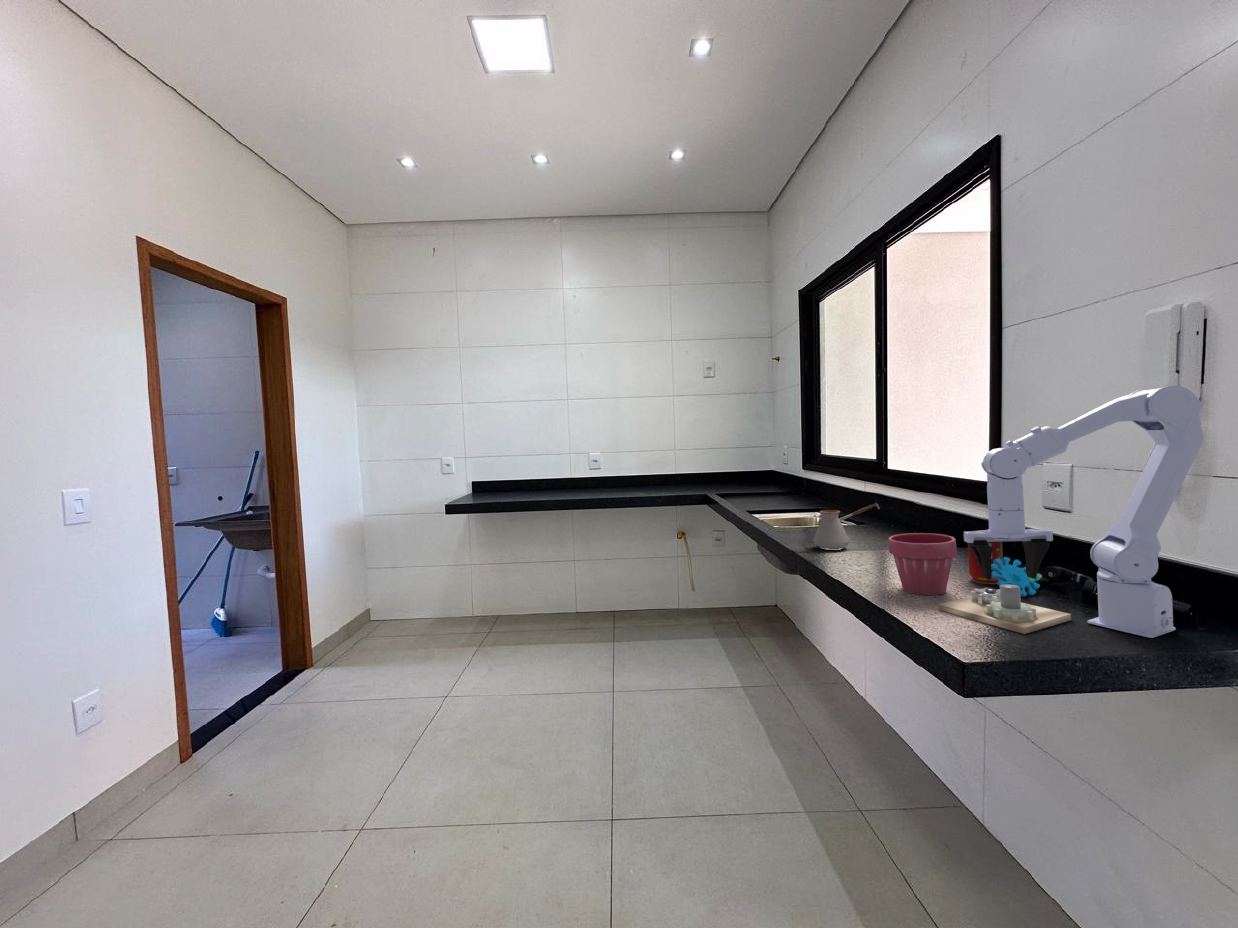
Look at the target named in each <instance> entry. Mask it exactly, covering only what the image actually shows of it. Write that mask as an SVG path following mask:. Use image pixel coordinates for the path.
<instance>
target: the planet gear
mask: <svg viewBox="0 0 1238 928" xmlns="http://www.w3.org/2000/svg"><path fill="white" fill-rule="evenodd" d="M999 589H1000V601H1001V602H994V601H992V602H990V605H987V613H991V614H993V615H994V617H997V618H1007V619H1012V620H1014V621H1018V620H1024V619H1027V620H1034V619H1033V616H1034V617H1036V608H1034V607H1029V606H1027V604H1028V603H1026V604H1024V603H1025V602H1021V599H1022V598H1021V596H1020V591H1021V590H1020V587H1019V586H1016V585H1008V584H1004V585H1000V587H999Z"/></svg>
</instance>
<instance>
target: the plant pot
mask: <svg viewBox="0 0 1238 928" xmlns="http://www.w3.org/2000/svg"><path fill="white" fill-rule="evenodd" d="M956 541H957V539H956V538H955V537H954V536H950V535H947V534H942V533H941V534H940V533H931V532H930V533H929V532H928V533H925V532H919V533H917V532H913V533H912V532H911V533H900V534H894V535H891V536H889V537H888V552H889V553H890V554H891V555H892V556H893V559H894V562H895V563H894V564H895V566H896V570H897V573H898V577H899V579H900V580H899V581H900V583H901V587H902V590H903V591H905V592H908V593H910V594H915V595H923V596H934V595H935V596H936V595H942V594H945V593H946V592H947V587H948V583H949V578H950V573H951V568H952V562H953V557H955V556H956V555H957V553H958V552H957V551H958V550H957V542H956Z"/></svg>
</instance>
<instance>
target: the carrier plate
mask: <svg viewBox="0 0 1238 928" xmlns="http://www.w3.org/2000/svg"><path fill="white" fill-rule="evenodd" d="M1023 603H1024V604H1027V606H1029V607H1034V608H1036V617H1034V616H1033V619H1034V620H1027V619H1024V620H1018V621H1014V620H1012V619H1007V618H997V617H994V615H993V614H991V613H987V605H986V604H983V605H981V604H978V602H976V601H972V597H971V595H970V596H966V597H962V598H958V599H954V600H950V601H947V602H941V603H938V610H939V611H942V612H945V613H949V614H952V615H956V616H960V617H963V618H967V619H971V620H973V621H977V622H980V623H984V624H988V625H991V626H994V627H995V626H996V627H998V628H1002V629H1005V630H1009V631H1013V632H1016V633H1020V634H1024V635H1025V634H1029V633H1033V632H1035V631H1039V630H1042V629H1043V630H1044V629H1046V628H1049V627H1053V626H1057V625H1060V624H1063V623H1066V622H1070V621H1072V613H1067V612H1065V611H1059V610H1056V609H1051V608H1047V607H1043V606H1039V605H1033V604H1029V603H1025V602H1023Z"/></svg>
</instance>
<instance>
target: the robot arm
mask: <svg viewBox="0 0 1238 928" xmlns="http://www.w3.org/2000/svg"><path fill="white" fill-rule="evenodd" d="M1203 407H1204V404H1203V403H1202V401H1200V400H1199V398H1198V397H1197V396H1196V395H1195V393H1193V391H1191V390H1190V389H1188V388H1186V387H1184V386H1182V385H1167V386H1163V387H1158V388H1157V387H1156V388H1151V389H1149V388H1145V389H1138V390H1135V391H1133V392H1131V393H1129V394H1127V395H1123V396H1120V397H1117V398H1115V399H1112V400H1109V401H1108V402H1106V403H1103V405H1100V406H1099V407H1096V408H1094V409H1092V410H1090V411H1088V412H1086V413H1085V414H1083V415H1080V416H1079V417H1077V418H1075V419H1073V420H1071V421H1069V422H1067V423H1064V424H1063V425H1061V426H1059V427H1053V426H1048V425H1047V426H1046V425H1045V426H1043V427H1041V426H1035V427H1034V428H1031V429H1029V430H1030V433H1029V434H1026V435H1024V436H1022V437H1021V438H1018V439H1015V440H1014V441H1013V440H1008V441H1006V442H1005V443H1004V444H1005V447H1004V448H1003V447H998V448H993V449H991V450H989V451H987V452H986V454H985V455H984V457H983V460H982V462H981V463H980V464H981V467H982V469H983V471H984V472H985V473H986V480H987V483H986V484H987V485H986V493H987V496H986V497H987V513H988V515H987V516H988V529H985V530H973V531H972V530H971V531H963V542H965V543H967V545H968V544H969V546H970V547H971V549H972V550H973V552H974V554H975V556H976V558H977V560H978V562H979V564H980V567H981V570H982V574H983V577H984V578H986V579H991V578H992V572H991V554H992V547H991V546H989V544H988V543H987V542H995V541H1002V542H1022V546H1023V547H1022V548H1023V550H1024V556H1025V567H1026V572H1025V573H1026V574H1027V576H1028V577H1030V578H1032V579H1036V577H1037V574H1038V573H1039V568H1040V565H1041V563H1042V560H1043V559H1044V556H1045V555H1046V553H1047V552H1048V551H1049V550H1050V546H1051V545H1050V544H1051V543H1050V542H1053V541H1054V536H1053V535H1054V533H1053V530H1050V529H1039V528H1038V529H1036V528H1035V529H1029V528H1026V523H1025V499H1024V485H1023V475H1024V473H1025V472H1026V471H1027V469H1031V468H1032V467H1035V466H1037V465H1039V464H1042V463H1043V462H1046V461H1048V460H1050V459H1052V458H1055V457H1056V456H1059V455H1062V454H1063V453H1065V452H1066V451H1067V448H1068V446H1069V445H1070V443H1071V442H1073V441H1075V440H1078V439H1081V438H1082V437H1085V436H1087V435H1090V434H1092V433H1094V432H1097V431H1100V430H1102V429H1104V428H1107V427H1109V426H1111V425H1113V424H1116V423H1120V422H1132V423H1134V424H1136V425H1137V426H1139V427H1140V428H1142V429H1143V430H1144V431H1146V433H1147V434H1148V435H1149V436H1150V438H1152V439H1153V442H1155V446H1154V448H1153V450H1152V452H1151V455H1150V457H1149V458H1148V461H1147V463H1146V465H1145V467H1144V468H1143V471H1142V472H1141V474H1140V477H1139V479H1138V481H1137V483H1136V485H1135V487H1134V489H1133V492H1132V494H1131V495H1130V496H1129V497H1130V498H1129V499H1128V502H1127V503H1126V505H1125V508H1124V509H1123V511H1122V514H1121V516H1120V518H1119V520H1118V522H1117V523H1116V524H1114V525H1112V526H1111V527H1109V528H1108V529H1106V531H1105V534H1104V535H1103V536H1102V538H1100V539H1099V540H1098V541H1096V542H1095V543H1094V544H1093V545H1092V546H1091V547H1090V550H1089V551H1090V552H1089V554H1090V559H1091V561H1092V562H1093V564H1094V565H1096V566H1097V567H1098V571H1097V572H1096V579H1097V603H1098V604H1097V607H1098V617H1094V618H1091V619H1088V620H1087V623H1088V624H1091V625H1095V626H1098V627H1103V628H1108V629H1112V630H1115V631H1118V632H1119V631H1120V632H1123V633H1128V634H1131V635H1137V636H1141V637H1145V638H1149V639H1153V638H1156V637H1159V636H1163V635H1165V634H1167V633H1171V632H1173V631H1176V627H1174V614H1173V613H1174V610H1173V594H1172V592H1171V589H1170V588H1169V587H1168V586H1166V585H1163V584H1160V583H1156V582H1154V581H1152V578H1154V576H1155V575H1156V574H1157V572H1158V570H1159V560H1158V558H1159V554H1160V551H1161V548H1162V546H1161V544H1160V541H1159V538H1158V533H1159V530H1160V528H1161V527H1162V525H1163V523H1164V521H1165V519H1166V517H1167V515H1168V513H1169V511H1170V508H1171V507H1172V505H1173V503H1174V501H1175V499H1176V497H1177V495H1178V493H1179V492H1180V489H1181V488H1182V485H1183V483H1184V481H1185V479H1186V477H1187V475H1188V474H1189V471H1190V469H1191V468H1192V465H1193V463H1194V461H1195V459H1196V457H1197V455H1198V453H1199V452H1200V449H1201V448H1202V445H1203V442H1204V435H1203V429H1202V428H1203V427H1202V422H1201V416H1200V413H1201V411H1202V409H1203ZM991 538H992V539H991Z"/></svg>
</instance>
